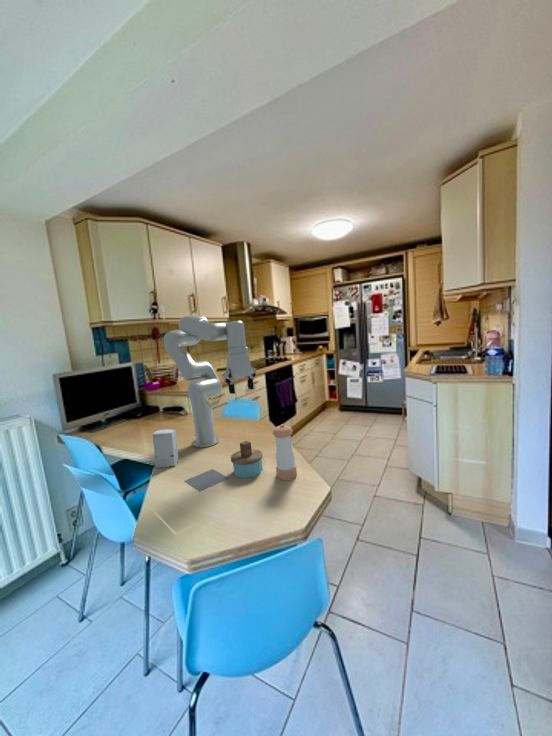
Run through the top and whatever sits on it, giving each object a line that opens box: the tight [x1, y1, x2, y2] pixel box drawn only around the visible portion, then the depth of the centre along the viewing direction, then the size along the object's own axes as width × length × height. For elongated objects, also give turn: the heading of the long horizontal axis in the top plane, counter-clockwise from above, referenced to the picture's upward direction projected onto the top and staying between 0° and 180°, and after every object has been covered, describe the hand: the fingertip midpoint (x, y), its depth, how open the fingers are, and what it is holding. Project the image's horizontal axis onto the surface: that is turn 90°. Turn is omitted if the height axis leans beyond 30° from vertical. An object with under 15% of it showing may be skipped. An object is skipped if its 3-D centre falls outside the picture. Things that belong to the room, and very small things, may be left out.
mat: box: [184, 468, 230, 493], centre depth 112 cm, size 12×12×1 cm
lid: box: [230, 440, 264, 465], centre depth 115 cm, size 12×12×6 cm
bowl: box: [232, 458, 264, 479], centre depth 116 cm, size 11×11×6 cm
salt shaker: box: [272, 423, 298, 481], centre depth 109 cm, size 7×7×19 cm
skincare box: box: [152, 428, 179, 469], centre depth 129 cm, size 8×6×15 cm
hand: (241, 391), depth 129 cm, fingers open, 9 cm apart
